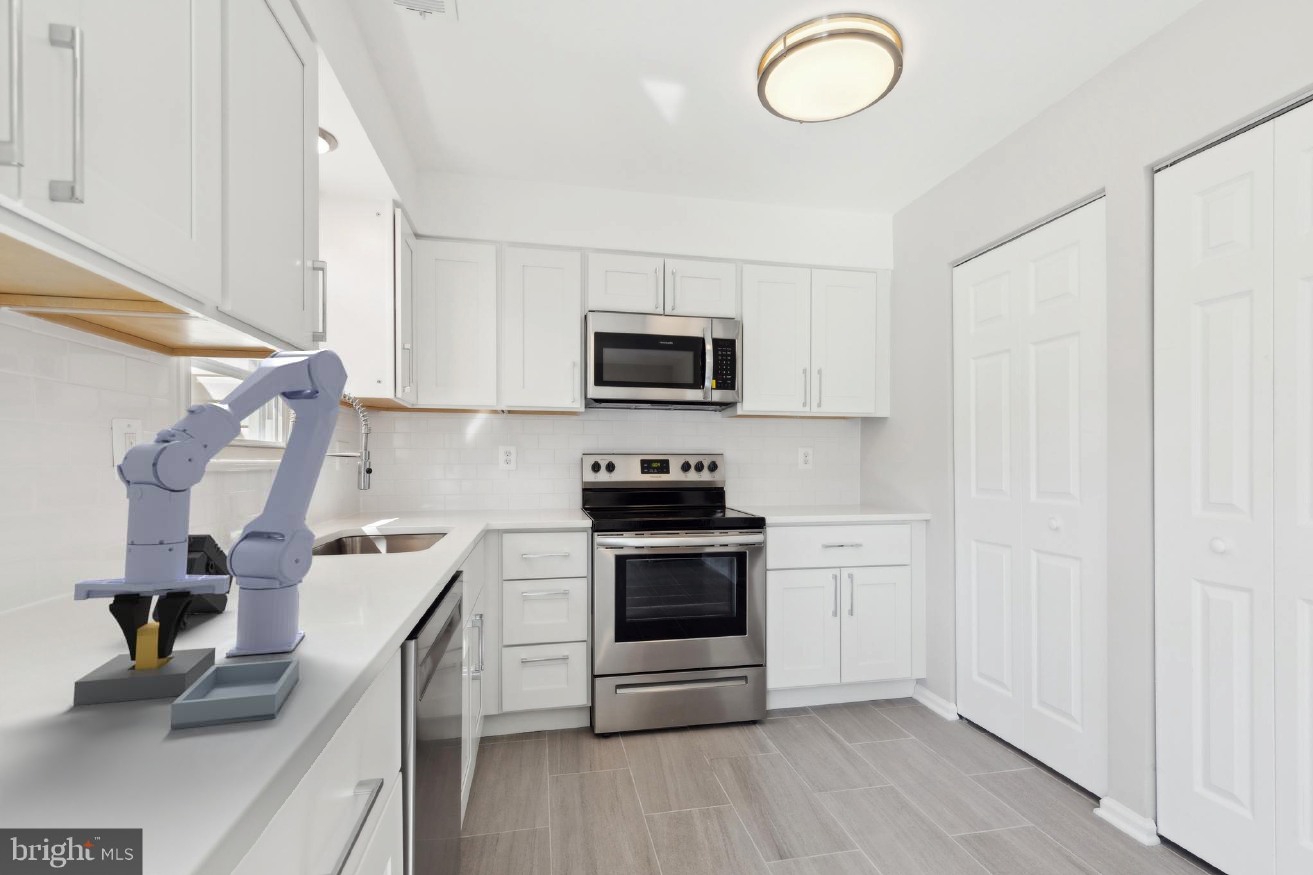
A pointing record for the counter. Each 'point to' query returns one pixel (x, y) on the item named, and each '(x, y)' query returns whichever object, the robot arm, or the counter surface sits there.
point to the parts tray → (236, 694)
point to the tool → (203, 561)
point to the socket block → (143, 678)
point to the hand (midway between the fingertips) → (151, 657)
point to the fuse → (148, 647)
